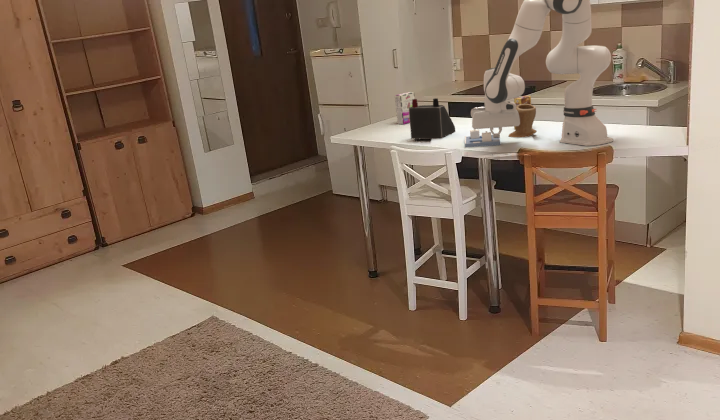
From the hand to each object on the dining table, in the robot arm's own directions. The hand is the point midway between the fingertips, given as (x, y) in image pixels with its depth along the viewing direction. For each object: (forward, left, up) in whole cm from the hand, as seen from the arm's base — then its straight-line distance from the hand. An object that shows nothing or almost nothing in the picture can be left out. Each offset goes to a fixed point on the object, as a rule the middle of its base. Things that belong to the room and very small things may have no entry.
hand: (496, 137), depth 285 cm
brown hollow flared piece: (+8, -20, -4) cm, 22 cm away
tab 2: (+2, +3, -3) cm, 5 cm away
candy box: (+26, -32, -4) cm, 41 cm away
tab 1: (+12, +3, -3) cm, 12 cm away
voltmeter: (+41, +9, -4) cm, 42 cm away
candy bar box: (+93, -2, -4) cm, 93 cm away
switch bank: (+7, +3, -4) cm, 8 cm away
